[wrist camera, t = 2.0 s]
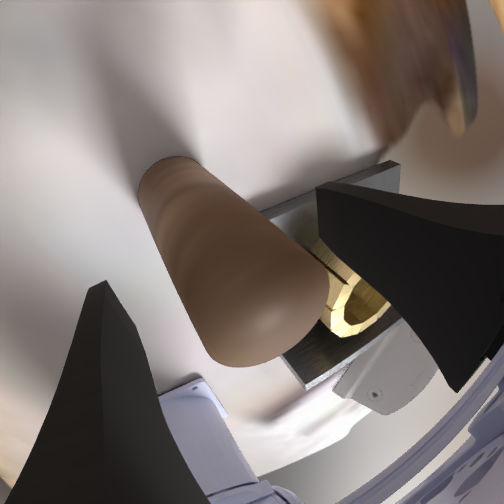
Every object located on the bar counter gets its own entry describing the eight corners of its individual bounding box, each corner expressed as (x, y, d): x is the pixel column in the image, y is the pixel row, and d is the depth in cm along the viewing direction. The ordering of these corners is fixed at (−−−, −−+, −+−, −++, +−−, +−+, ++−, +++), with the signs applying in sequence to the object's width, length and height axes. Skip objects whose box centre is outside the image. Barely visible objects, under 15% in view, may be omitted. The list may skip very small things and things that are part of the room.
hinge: (394, 291, 30) (467, 337, 25) (403, 281, 34) (467, 321, 29) (331, 393, 37) (387, 432, 32) (345, 377, 41) (397, 412, 35)
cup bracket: (271, 345, 24) (306, 390, 20) (242, 220, 17) (294, 269, 13) (379, 279, 27) (417, 310, 23) (390, 159, 20) (446, 185, 16)
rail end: (152, 236, 15) (225, 384, 8) (127, 173, 12) (181, 301, 6) (216, 209, 16) (329, 325, 9) (198, 145, 13) (328, 230, 7)
